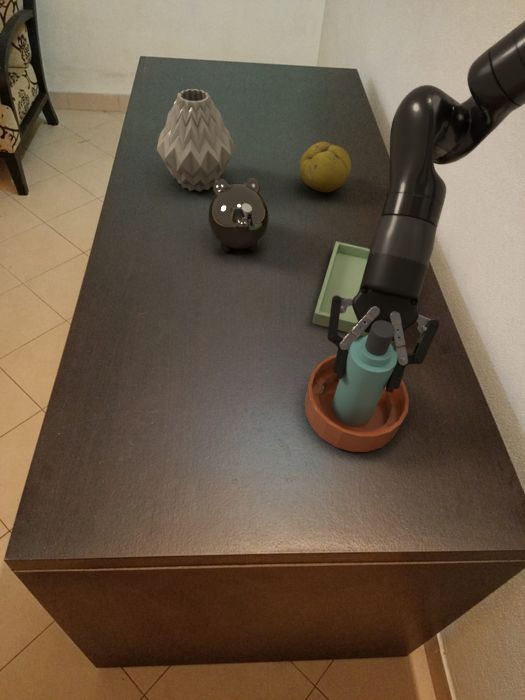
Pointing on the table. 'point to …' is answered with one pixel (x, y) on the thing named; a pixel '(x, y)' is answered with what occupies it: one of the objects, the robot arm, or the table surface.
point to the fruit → (325, 167)
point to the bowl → (346, 436)
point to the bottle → (365, 375)
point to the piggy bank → (238, 214)
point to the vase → (195, 141)
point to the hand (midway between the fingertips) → (363, 384)
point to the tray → (342, 284)
